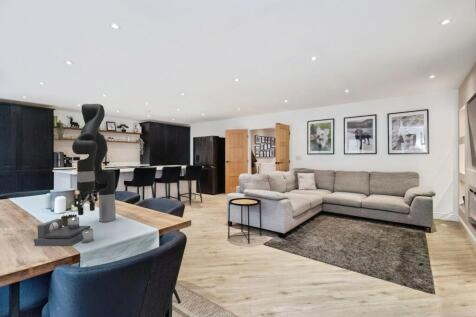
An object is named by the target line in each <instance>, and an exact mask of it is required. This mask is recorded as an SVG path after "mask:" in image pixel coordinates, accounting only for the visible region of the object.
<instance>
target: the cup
mask: <svg viewBox="0 0 476 317" xmlns="http://www.w3.org/2000/svg"><path fill="white" fill-rule="evenodd" d="M72 217H78V214H76V213H75V214H70V213H69V214H66V215H61V217H60V219H62V222H63V227H65V226H68V219H69V218H72Z"/></svg>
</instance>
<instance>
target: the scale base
mask: <svg viewBox="0 0 476 317" xmlns="http://www.w3.org/2000/svg"><path fill="white" fill-rule="evenodd" d="M62 227H64V226H63V222H62V219H61V218H55V219H52V220H50V221H49V220H48V221H47V222H44V223H41V224H39V225H37V238H34V241H33V242H34V244H33V245H34V246H40V247H41V246H42V247H43V246H44V247H45V246H46V247H47V246H50V247H52V246H54V247H57V246H58V247H59V246H61V247H64V246H66V247H67V246H69V247H72V246H73V245H76V244H78V243H79V242H82V232H81V233H79V234H77V235H75V236H73V237H71V238H43V235H46V234H48V233H50V232H53V231H55V230H58V229H60V228H62ZM87 230H93V231H94V229H93V228H89V229H87Z"/></svg>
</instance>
